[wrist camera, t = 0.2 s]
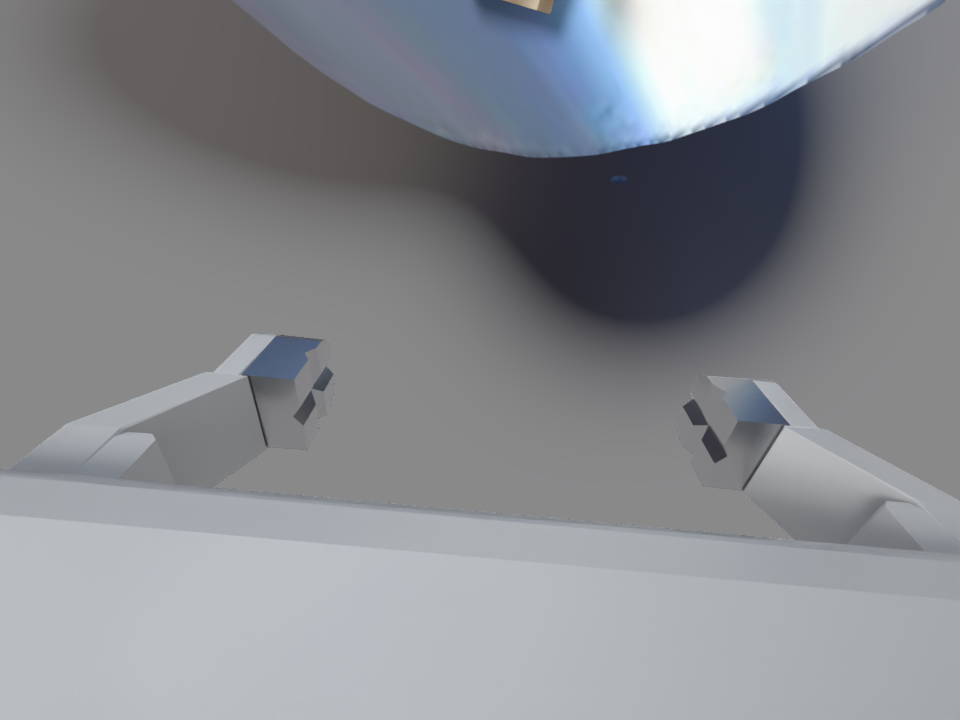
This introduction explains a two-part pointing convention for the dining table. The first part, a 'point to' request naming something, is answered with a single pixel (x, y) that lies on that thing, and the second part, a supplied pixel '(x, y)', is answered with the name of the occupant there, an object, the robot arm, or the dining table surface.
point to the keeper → (535, 4)
